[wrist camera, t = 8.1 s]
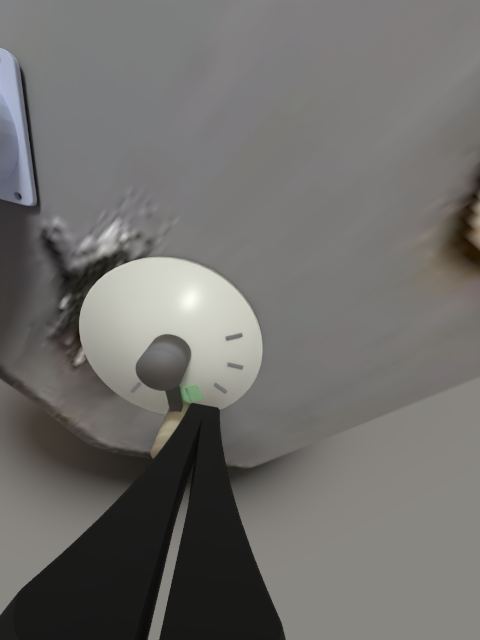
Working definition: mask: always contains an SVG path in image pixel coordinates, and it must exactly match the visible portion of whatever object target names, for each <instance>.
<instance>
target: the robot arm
mask: <svg viewBox="0 0 480 640" xmlns="http://www.w3.org/2000/svg"><path fill="white" fill-rule="evenodd" d="M19 193H20V194H21V196H22V199H21V198H20V197H19ZM0 199H2V200H6V201H10V202H14V203H18V204H22V205H26V206H35V205H36V204H37V197H36V189H35V181H34V174H33V166H32V158H31V151H30V143H29V135H28V128H27V120H26V112H25V105H24V97H23V89H22V82H21V74H20V67H19V63H18V61H17V59H16V58H15V57H14V56H13V55H12V54H11V53H9V52H8V51H6V50H4V49H1V48H0ZM194 459H195V460H194ZM193 462H194V467H193V474H192V482H191V489H190V496H189V503H188V509H187V514H186V519H185V524H184V528H183V533H182V537H181V542H180V546H179V551H178V556H177V561H176V565H175V570H174V575H173V579H172V583H171V588H170V593H169V597H168V602H167V607H166V611H165V616H164V621H163V625H162V630H161V635H160V639H159V640H286V639H285V635H284V631H283V627H282V623H281V621H280V618H279V616H278V614H277V612H276V609H275V607H274V605H273V602H272V600H271V598H270V595H269V593H268V591H267V588H266V586H265V583H264V581H263V578H262V576H261V574H260V571H259V568H258V566H257V563H256V561H255V558H254V556H253V553H252V550H251V547H250V545H249V542H248V539H247V536H246V533H245V530H244V528H243V525H242V522H241V519H240V516H239V512H238V509H237V506H236V503H235V499H234V496H233V492H232V489H231V485H230V480H229V477H228V472H227V467H226V463H225V458H224V452H223V446H222V440H221V431H220V409H219V408H218V407H213V406H207V405H202V404H196V403H191V404H190V405H189V407H188V409H187V411H186V413H185V415H184V417H183V418H182V420H181V421H180V423H179V425H178V426H177V428H176V429H175V431H174V432H173V433H172V435H171V436H170V438H169V439H168V441H167V442H166V443H165V445H164V446H163V447H162V449H161V450H160V451H159V452H158V454H157V455H156V456H155V458H154V459H153V460H152V461H151V463H150V464H149V465H148V466H147V467H146V469H145V470H144V471H143V472H142V473H141V475H140V476H139V477H138V478H137V479H136V480H135V481H134V482H133V484H132V485H131V486H130V487H129V488H128V489H127V490H126V491H125V492H124V493H123V494H122V496H120V498H119V499H118V500H117V501H116V502H115V503H114V504H113V505H112V506H111V507H110V508H109V509H108V510H107V511H106V512H105V513H104V514H103V515H102V516H101V517H100V518H99V519H98V520H97V521H96V522H95V523H94V524H93V525H92V526H91V527H89V528H88V529H87V530H86V531H85V532H84V533H83V534H82V535H81V536H80V537H79V538H78V539H77V540H76V541H75V542H74V543H73V544H72V545H71V546H69V548H67V549H66V550H65V551H64V552H63V553H62V554H61V555H60V556H58V557H57V558H56V559H55V560H54V561H53V562H52V563H50V564H49V565H48V566H47V567H46V568H45V569H44V570H42V571H41V572H40V573H39V574H38V575H37V576H36V577H34V578H33V579H32V580H31V581H30V582H29V583H28V584H26V585H25V586H24V587H23V588H22V589H21V590H20V591H19V592H18V594H17V595H16V596H15V597H14V599H13V600H12V601H11V602H10V604H9V605H8V606H7V607H6V609H5V610H4V611H3V613H2V614H1V615H0V640H148V635H149V631H150V627H151V623H152V618H153V614H154V610H155V605H156V601H157V597H158V592H159V588H160V584H161V579H162V575H163V571H164V567H165V562H166V558H167V554H168V550H169V545H170V541H171V536H172V533H173V529H174V525H175V521H176V517H177V514H178V511H179V507H180V504H181V501H182V498H183V494H184V491H185V488H186V485H187V482H188V478H189V475H190V472H191V468H192V465H193Z"/></svg>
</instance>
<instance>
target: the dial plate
mask: <svg viewBox="0 0 480 640" xmlns="http://www.w3.org/2000/svg"><path fill="white" fill-rule="evenodd" d="M79 332H80V339H81V343H82V346H83V350H84V352H85V355H86V357H87V359H88V361H89V363H90V364H91V366H92V368H93V369H94V371H95V372H96V373H97V375H98V376H99V377H100V379H101V380H102V381H103V382H104V383H105V384H106V385H107V386H108V387H109V388H111V389H112V390H113V391H114V392H115V393H117V394H118V395H119V396H121V397H122V398H124V399H125V400H127V401H129V402H131V403H132V404H134V405H136V406H139V407H141V408H143V409H146V410H149V411H152V412H155V413H159V414H163V415H166V414H167V411H168V409H169V405H168V401H167V396H166V392H165V391H159V390H154V389H152V388H149V387H148V386H146V385H145V384H143V383H142V382H141V381H140V379H139V378H138V376H137V374H136V369H135V367H136V363H137V361H138V360H139V358H140V357H141V356H142V354H143V353H144V352H145V350H146V349H147V348H148V347H149V345H150V344H151V343H152V341H153V340H154V339H155V338H156V337H158V336H160V335H164V334H171V335H176V336H178V337H180V338H182V339H183V340H184V341H185V342H186V343H187V344H188V345H189V347H190V349H191V359H190V362H189V364H188V366H187V369H186V371H185V374H184V376H183V378H182V381H181V383H180V384H179V386H180V391H181V396H182V401H185V402H187V403H189V404H191V403H196V404H202V405H207V406H213V407H218V408H219V409H220V410H221V409H223V408H225V407H227V406H229V405H231V404H232V403H234V402H235V401H237V400H238V399H239V398H240V397H242V396H243V395H244V394H245V393H246V392H247V390H248V389H249V388H250V387H251V385H252V384H253V382H254V380H255V379H256V376H257V374H258V372H259V369H260V365H261V361H262V336H261V331H260V326H259V323H258V320H257V317H256V315H255V313H254V311H253V309H252V307H251V305H250V303H249V302H248V301H247V299H246V298H245V296H244V295H243V294H242V293H241V292H240V291H239V290H238V288H237V287H236V286H235V285H234V284H232V283H231V282H230V281H229V280H228V279H226V278H225V277H224V276H222V275H221V274H219V273H218V272H216V271H214V270H213V269H211V268H209V267H206V266H204V265H202V264H200V263H197V262H194V261H191V260H188V259H183V258H177V257H167V256H156V257H146V258H142V259H137V260H134V261H131V262H128V263H126V264H123V265H121V266H119V267H116V268H114V269H113V270H111V271H110V272H108V273H106V274H105V275H104V276H103V277H101V278H100V279H99V280H98V281H97V282H96V283H95V284H94V286H93V287H92V288H91V289H90V291H89V293H88V294H87V296H86V298H85V300H84V303H83V306H82V308H81V313H80V319H79Z"/></svg>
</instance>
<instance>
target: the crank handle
mask: <svg viewBox="0 0 480 640" xmlns="http://www.w3.org/2000/svg"><path fill="white" fill-rule="evenodd" d="M190 359H191V349H190V347H189V345H188V344H187V343H186V342H185V341H184V340H183V339H182V338H180V337H178V336H176V335H171V334H164V335H160V336H158V337H156V338H155V339H154V340H153V341H152V343H151V344H150V345H149V347H148V348H147V349H146V350H145V352H144V353H143V354H142V356H141V357H140V358H139V360H138V361H137V363H136V367H135V369H136V374H137V376H138V378H139V379H140V381H141V382H142V383H143V384H145V385H146V386H148V387H149V388H152V389H154V390H159V391H165V392H166V396H167V401H168V405H169V409H168V411H167V414H166V416H165V419H164V421H163V423H162V426H161V428H160V430H159V433H158V435H157V438H156V440H155V442H154V445H153V447H152V450H151V456H152V458H153V459H154V458H155V456H156V455H157V454H158V452H159V451H160V450H161V449H162V447H163V446H164V445H165V443H166V442H167V441H168V439H169V438H170V436H171V435H172V433H173V432H174V431H175V429H176V428H177V426H178V425H179V423H180V421H181V420H182V418H183V417H184V415H185V413H186V411H187V409H188V407H189V405H190V404H189V403H187V402H185V401H182V396H181V391H180V386H179V384H180V383H181V381H182V378H183V376H184V374H185V371H186V369H187V366H188V364H189V362H190Z"/></svg>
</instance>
